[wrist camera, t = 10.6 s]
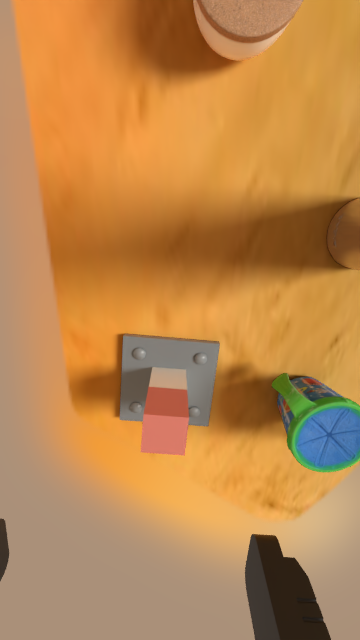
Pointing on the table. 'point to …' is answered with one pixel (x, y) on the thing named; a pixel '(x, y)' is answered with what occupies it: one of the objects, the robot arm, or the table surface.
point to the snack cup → (318, 424)
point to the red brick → (165, 421)
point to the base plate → (167, 354)
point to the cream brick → (168, 378)
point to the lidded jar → (243, 24)
